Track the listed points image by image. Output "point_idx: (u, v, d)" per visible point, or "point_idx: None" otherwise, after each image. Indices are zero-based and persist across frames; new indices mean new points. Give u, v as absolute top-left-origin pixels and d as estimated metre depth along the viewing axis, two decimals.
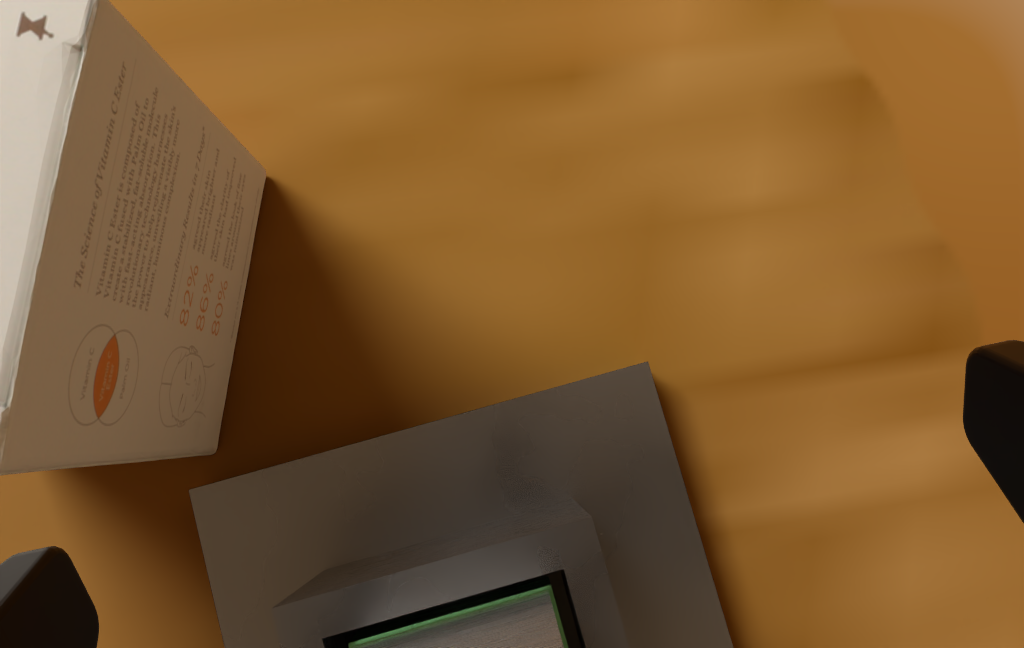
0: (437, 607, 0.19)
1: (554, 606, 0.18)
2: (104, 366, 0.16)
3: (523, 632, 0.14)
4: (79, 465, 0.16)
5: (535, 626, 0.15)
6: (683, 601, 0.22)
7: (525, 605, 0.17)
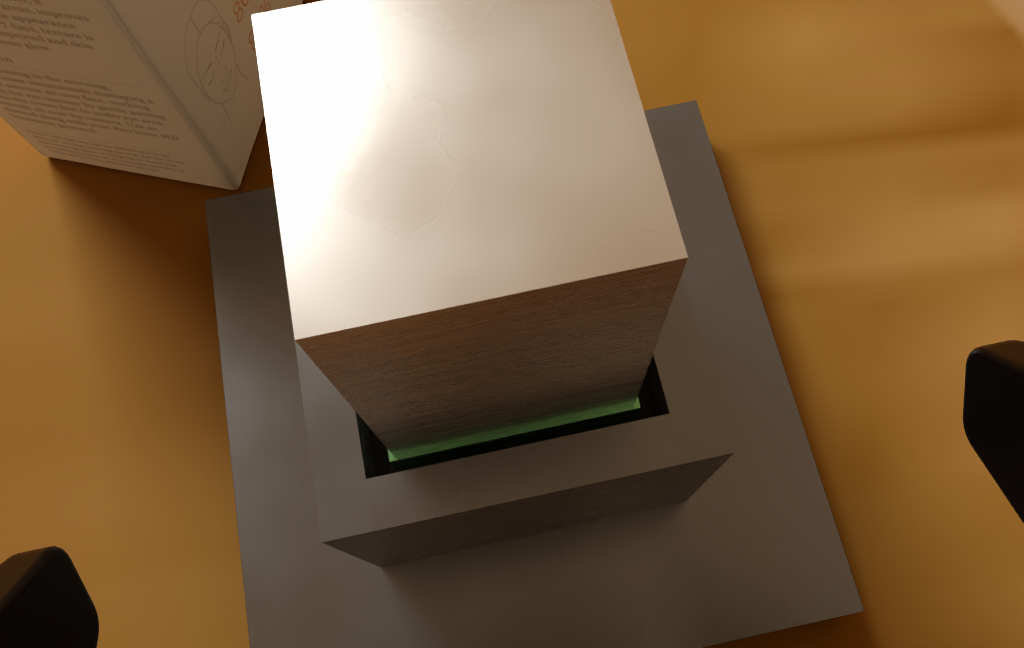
0: None
1: None
2: None
3: None
4: None
5: None
6: (731, 334, 0.19)
7: None
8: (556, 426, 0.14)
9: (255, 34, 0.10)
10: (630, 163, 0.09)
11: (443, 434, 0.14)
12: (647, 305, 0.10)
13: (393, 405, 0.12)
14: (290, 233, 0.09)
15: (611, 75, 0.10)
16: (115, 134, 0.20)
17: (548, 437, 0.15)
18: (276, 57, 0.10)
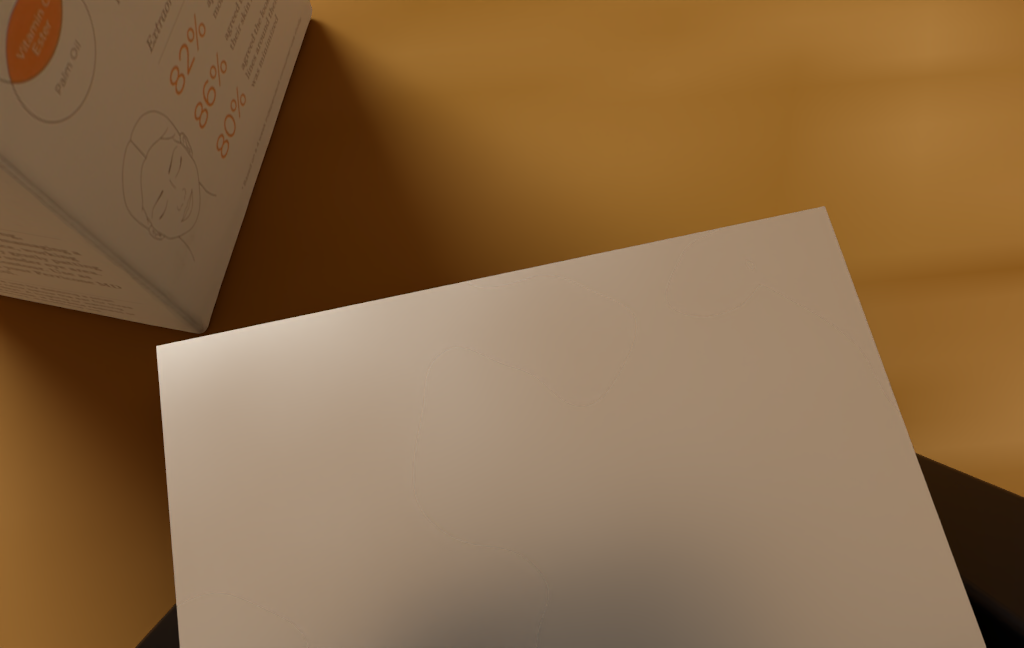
0: None
1: None
2: (33, 8, 0.11)
3: None
4: None
5: None
6: None
7: None
8: None
9: (163, 388, 0.05)
10: None
11: None
12: None
13: None
14: None
15: (888, 504, 0.05)
16: (39, 277, 0.16)
17: None
18: (202, 446, 0.05)
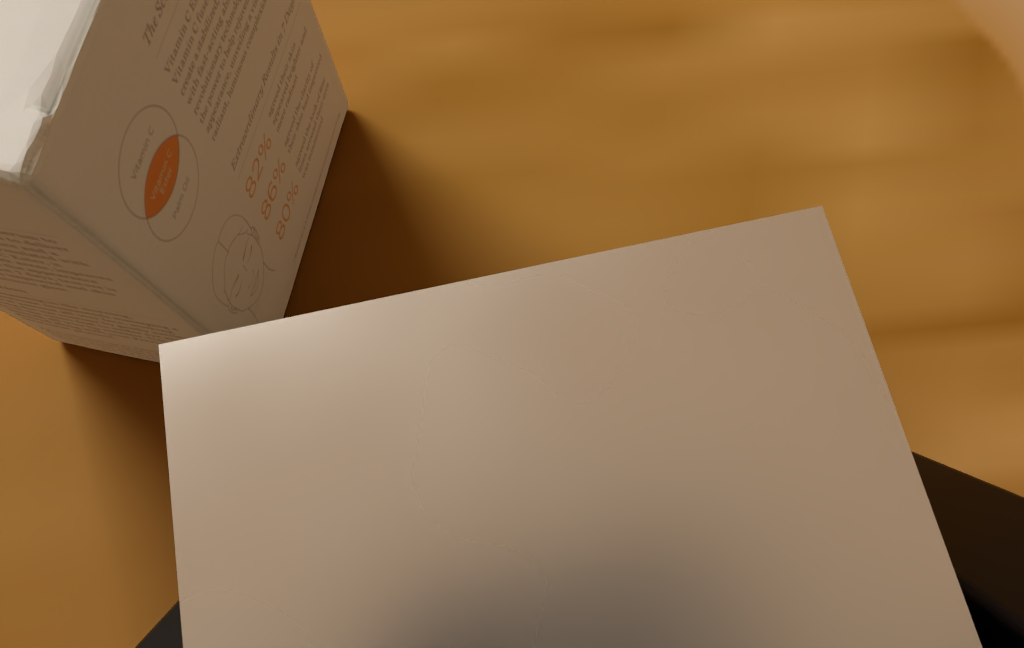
0: None
1: None
2: (162, 161, 0.14)
3: None
4: (118, 259, 0.14)
5: None
6: None
7: None
8: None
9: (165, 388, 0.05)
10: None
11: None
12: None
13: None
14: None
15: (884, 501, 0.05)
16: (135, 341, 0.19)
17: None
18: (204, 444, 0.05)
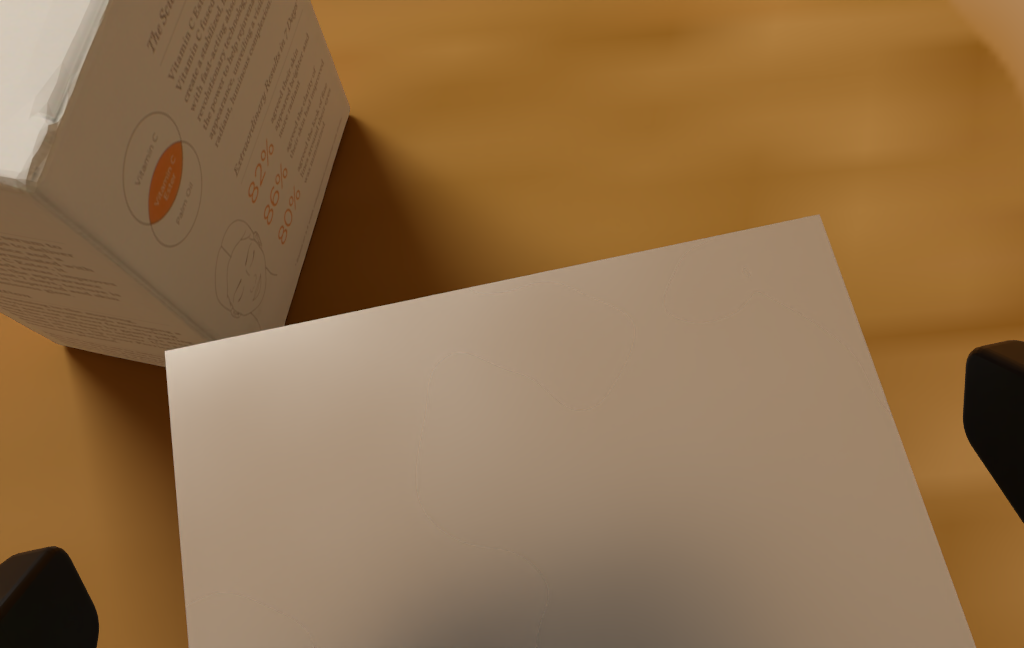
0: None
1: None
2: (165, 168, 0.15)
3: None
4: (122, 264, 0.14)
5: None
6: None
7: None
8: None
9: (170, 394, 0.05)
10: None
11: None
12: None
13: None
14: None
15: (880, 506, 0.05)
16: (138, 345, 0.19)
17: None
18: (209, 449, 0.05)
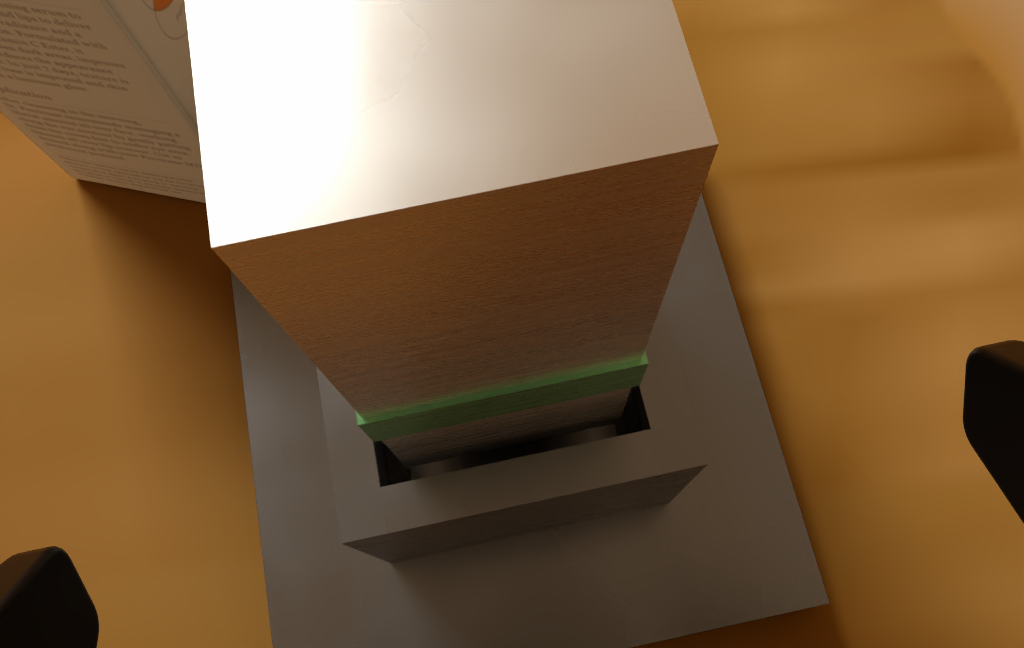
0: None
1: None
2: None
3: None
4: (131, 37, 0.17)
5: None
6: (712, 349, 0.21)
7: None
8: (551, 385, 0.12)
9: None
10: (643, 29, 0.07)
11: (419, 391, 0.12)
12: (663, 218, 0.08)
13: (354, 351, 0.10)
14: (209, 115, 0.07)
15: None
16: (142, 161, 0.22)
17: (541, 399, 0.13)
18: None
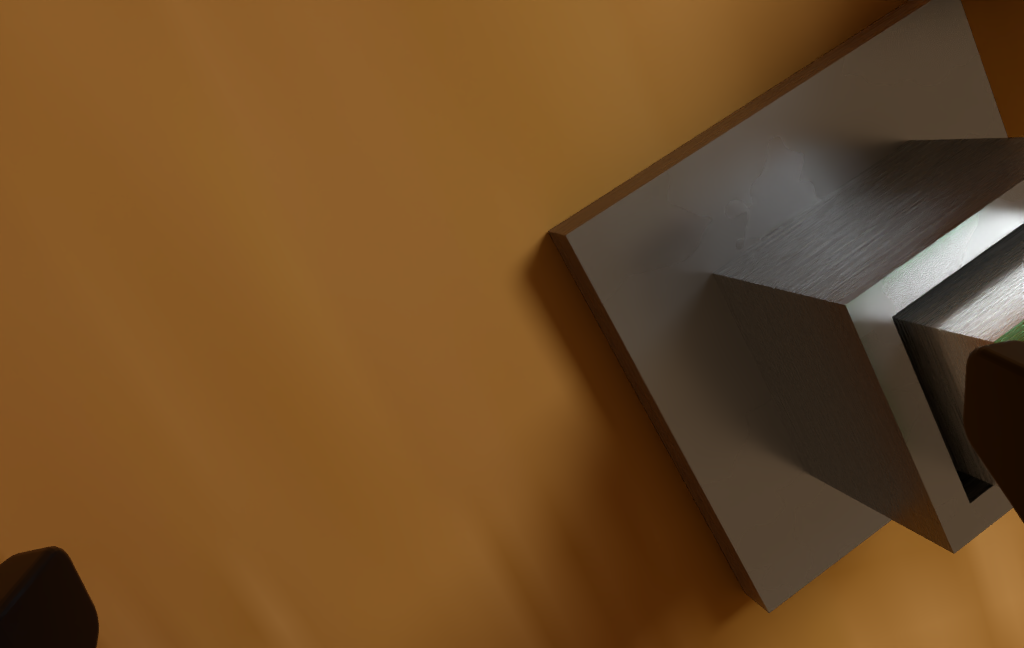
0: None
1: None
2: None
3: None
4: None
5: None
6: None
7: None
8: None
9: None
10: None
11: None
12: None
13: None
14: None
15: None
16: None
17: None
18: None
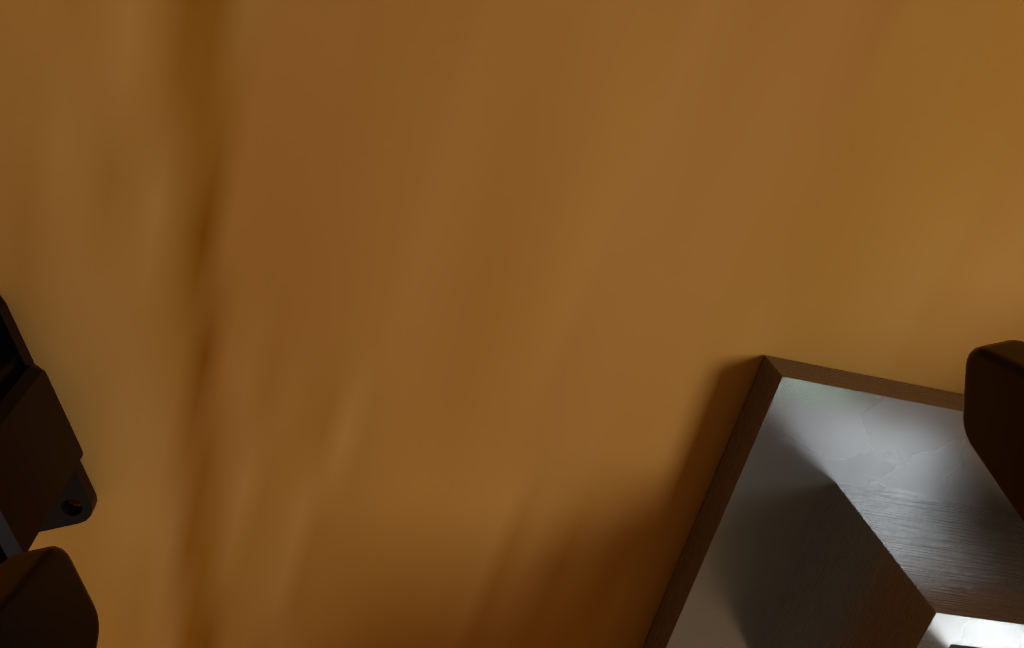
0: None
1: None
2: None
3: None
4: None
5: None
6: None
7: None
8: None
9: None
10: None
11: None
12: None
13: None
14: None
15: None
16: None
17: None
18: None
